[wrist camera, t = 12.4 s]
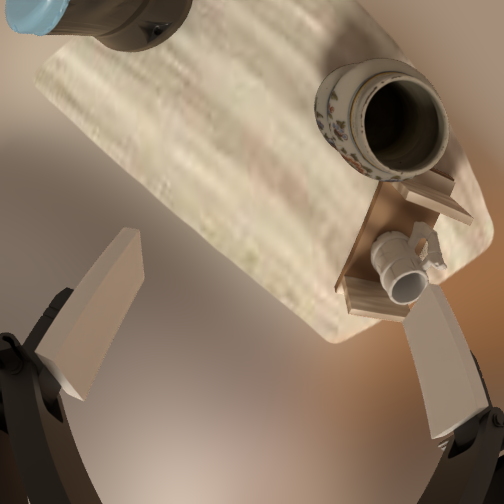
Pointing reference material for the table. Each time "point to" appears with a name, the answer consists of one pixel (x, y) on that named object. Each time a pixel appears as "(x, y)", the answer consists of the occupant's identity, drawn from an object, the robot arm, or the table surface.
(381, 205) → the shelf
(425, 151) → the apothecary jar
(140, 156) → the table surface
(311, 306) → the table surface
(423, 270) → the mug
